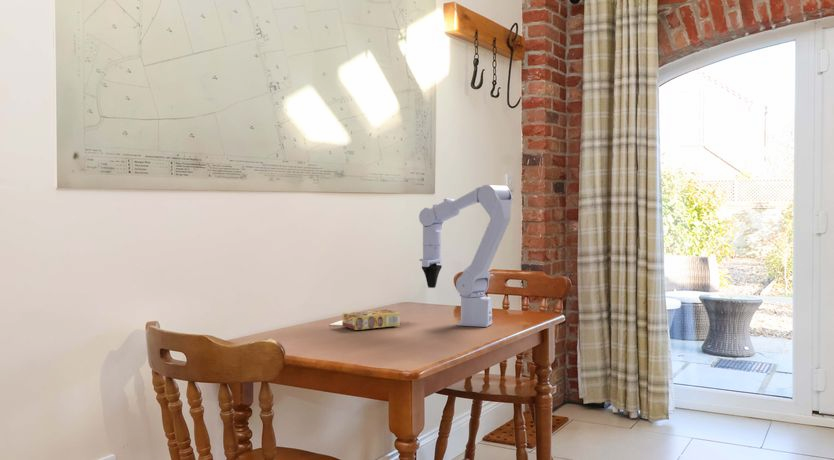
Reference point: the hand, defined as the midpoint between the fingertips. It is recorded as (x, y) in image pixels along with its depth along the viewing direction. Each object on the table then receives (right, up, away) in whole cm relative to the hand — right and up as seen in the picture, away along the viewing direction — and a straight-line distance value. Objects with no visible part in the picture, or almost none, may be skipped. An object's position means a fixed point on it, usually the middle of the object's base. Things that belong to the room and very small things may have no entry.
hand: (431, 287), depth 250 cm
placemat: (-23, -11, -6) cm, 26 cm away
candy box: (-12, -8, -11) cm, 18 cm away
